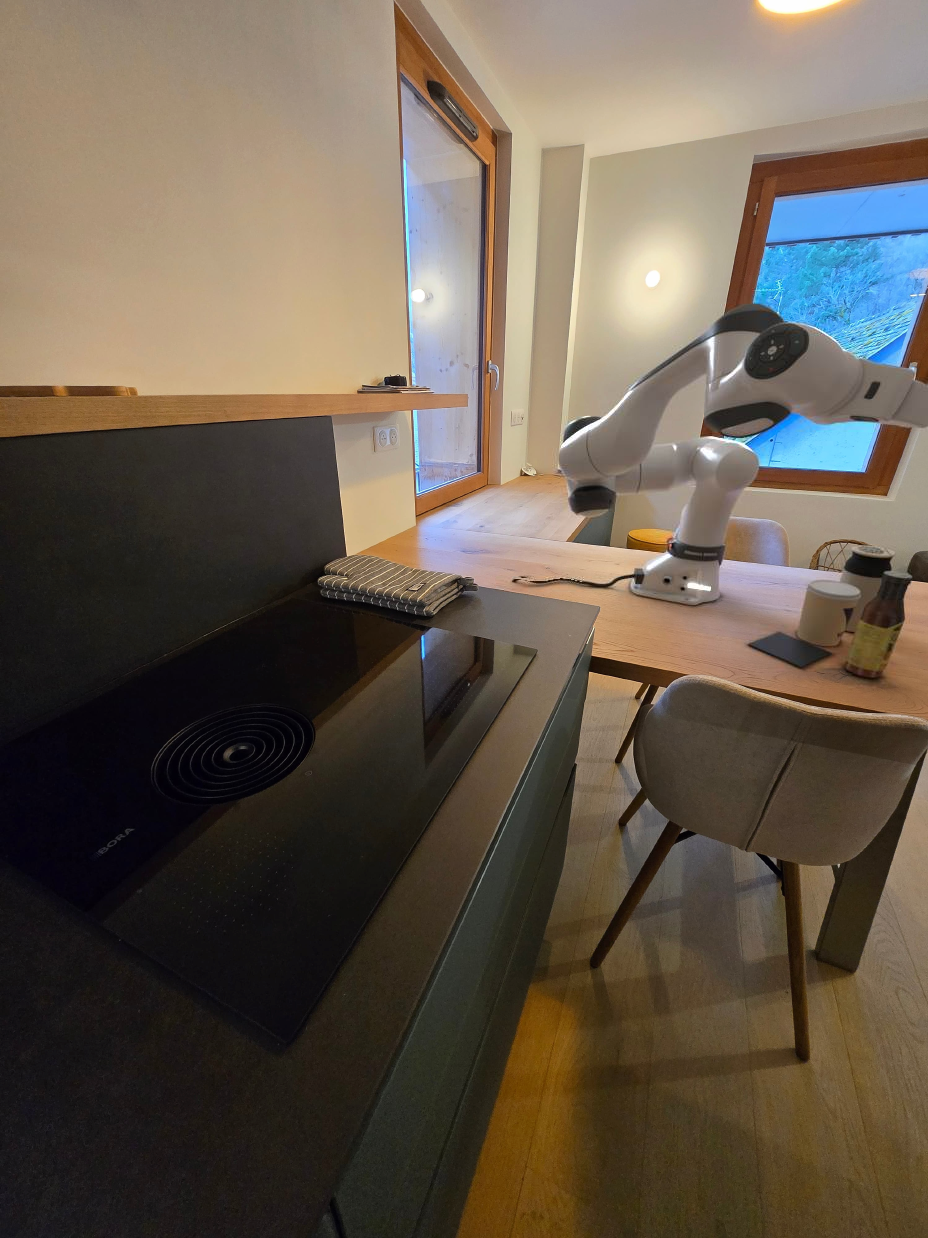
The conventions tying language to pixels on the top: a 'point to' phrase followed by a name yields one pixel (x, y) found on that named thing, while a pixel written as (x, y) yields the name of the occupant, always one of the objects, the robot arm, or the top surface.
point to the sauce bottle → (879, 627)
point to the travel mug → (865, 576)
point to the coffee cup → (827, 611)
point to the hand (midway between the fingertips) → (875, 418)
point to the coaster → (790, 649)
